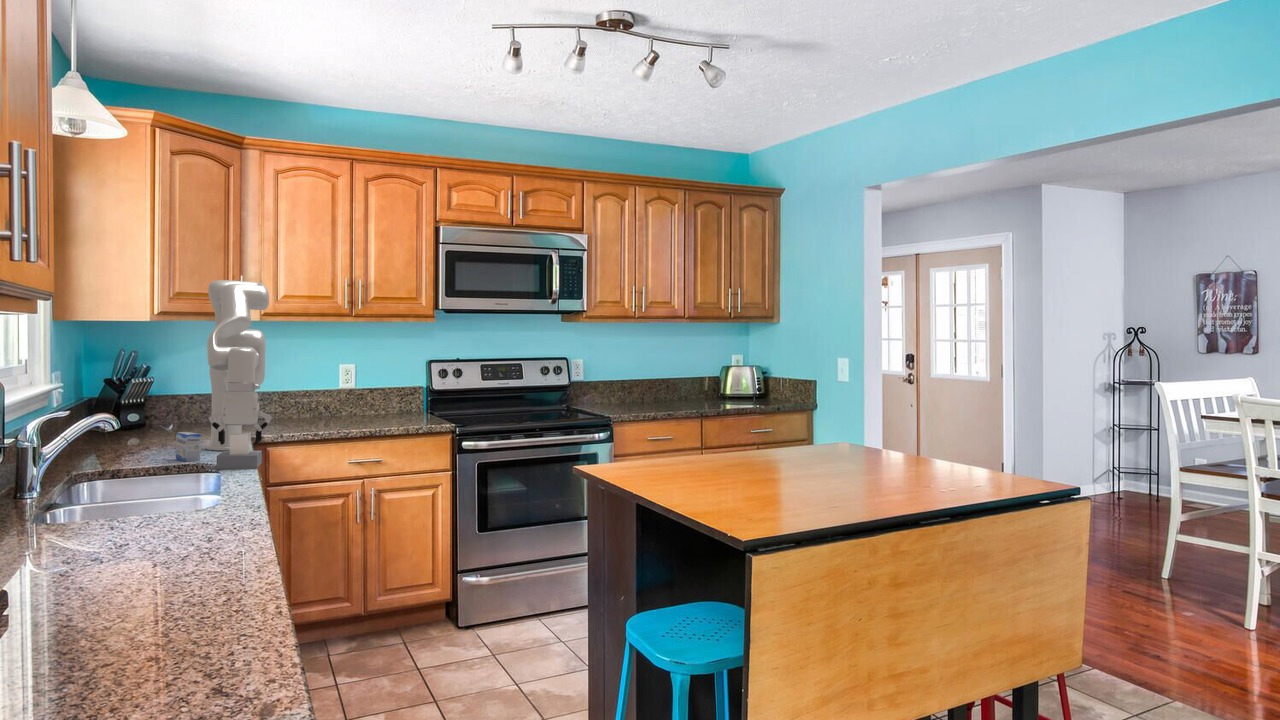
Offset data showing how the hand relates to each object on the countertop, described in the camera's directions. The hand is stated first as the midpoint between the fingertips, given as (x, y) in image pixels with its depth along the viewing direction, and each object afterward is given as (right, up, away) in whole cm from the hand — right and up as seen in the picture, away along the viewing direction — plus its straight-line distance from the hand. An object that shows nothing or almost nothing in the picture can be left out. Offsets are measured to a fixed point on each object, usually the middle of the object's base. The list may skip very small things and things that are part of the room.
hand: (240, 443), depth 241 cm
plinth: (0, -7, 0) cm, 7 cm away
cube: (0, -3, 0) cm, 3 cm away
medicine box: (-22, -6, +10) cm, 24 cm away
